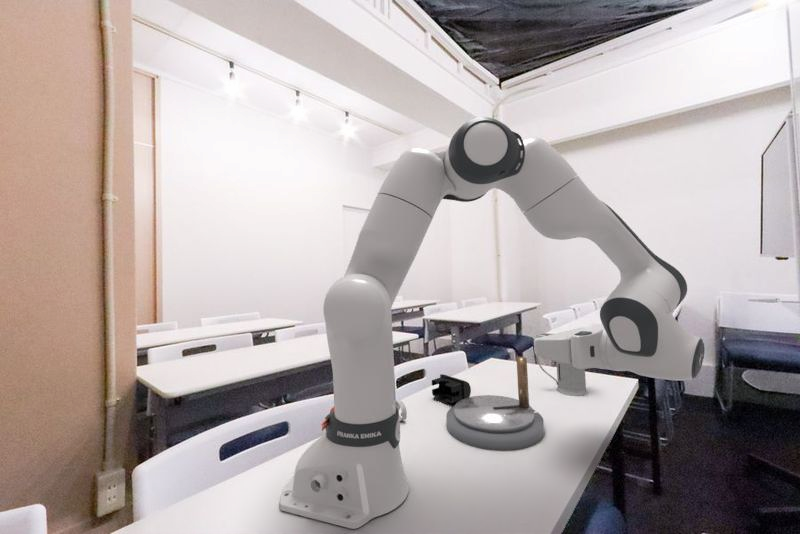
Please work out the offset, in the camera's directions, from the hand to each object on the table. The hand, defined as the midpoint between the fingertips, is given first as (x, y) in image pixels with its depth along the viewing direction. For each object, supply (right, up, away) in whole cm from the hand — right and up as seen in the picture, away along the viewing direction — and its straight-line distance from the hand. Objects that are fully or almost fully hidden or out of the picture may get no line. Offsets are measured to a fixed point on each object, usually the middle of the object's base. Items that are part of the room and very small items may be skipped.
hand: (540, 337), depth 82 cm
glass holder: (+17, -22, +25) cm, 38 cm away
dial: (-10, -20, +3) cm, 22 cm away
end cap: (-18, -24, +22) cm, 37 cm away
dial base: (-10, -23, +3) cm, 25 cm away
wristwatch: (-33, -24, +9) cm, 42 cm away
